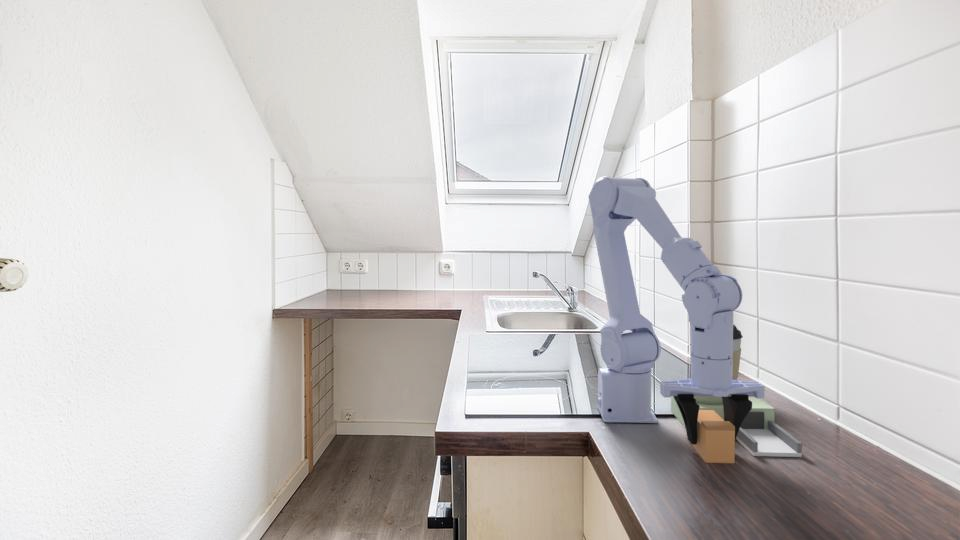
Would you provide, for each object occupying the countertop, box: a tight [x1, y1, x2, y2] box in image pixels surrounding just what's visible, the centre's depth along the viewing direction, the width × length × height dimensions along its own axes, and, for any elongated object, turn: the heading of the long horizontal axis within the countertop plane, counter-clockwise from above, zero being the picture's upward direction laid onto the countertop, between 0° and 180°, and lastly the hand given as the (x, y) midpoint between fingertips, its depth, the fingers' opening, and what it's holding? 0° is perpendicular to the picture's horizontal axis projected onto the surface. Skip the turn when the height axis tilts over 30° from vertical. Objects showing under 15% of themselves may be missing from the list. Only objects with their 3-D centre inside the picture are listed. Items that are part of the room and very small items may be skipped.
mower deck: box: [670, 396, 803, 458], centre depth 78 cm, size 14×18×6 cm
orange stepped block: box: [686, 410, 736, 464], centre depth 71 cm, size 4×8×6 cm, turn 174°
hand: (710, 442), depth 71 cm, fingers open, 5 cm apart
